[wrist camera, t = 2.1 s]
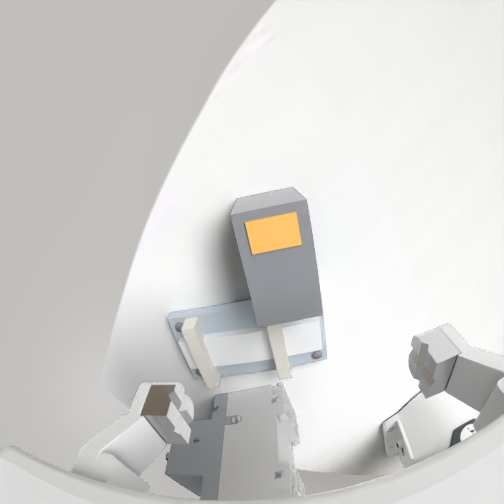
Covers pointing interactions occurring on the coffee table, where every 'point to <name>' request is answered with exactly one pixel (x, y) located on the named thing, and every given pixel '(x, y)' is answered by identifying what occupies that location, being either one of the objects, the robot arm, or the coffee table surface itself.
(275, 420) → the circuit breaker
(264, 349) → the panel
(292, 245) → the module
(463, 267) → the coffee table surface
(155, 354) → the coffee table surface
